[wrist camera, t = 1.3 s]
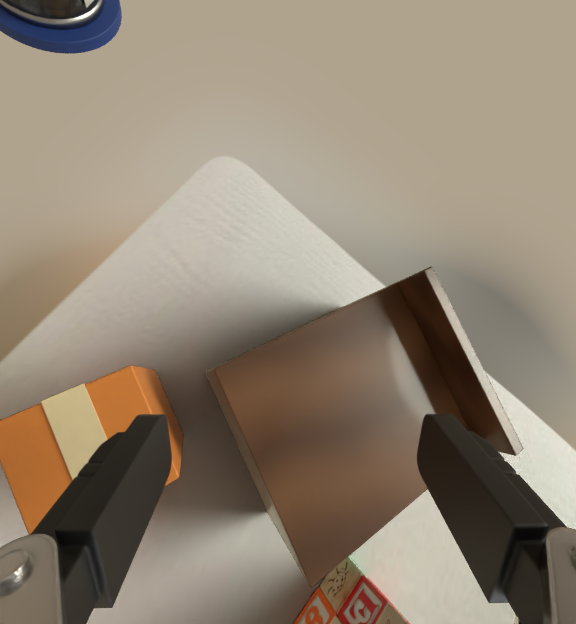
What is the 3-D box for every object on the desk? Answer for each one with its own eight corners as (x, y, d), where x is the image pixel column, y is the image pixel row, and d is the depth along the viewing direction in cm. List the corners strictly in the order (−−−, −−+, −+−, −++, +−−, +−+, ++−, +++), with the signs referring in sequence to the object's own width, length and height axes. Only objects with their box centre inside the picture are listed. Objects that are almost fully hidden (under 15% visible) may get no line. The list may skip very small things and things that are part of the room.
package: (74, 403, 21) (-18, 425, 12) (154, 368, 23) (130, 363, 14) (105, 479, 21) (36, 563, 11) (184, 437, 23) (180, 479, 13)
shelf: (204, 371, 24) (217, 367, 13) (343, 306, 29) (432, 265, 18) (267, 513, 23) (333, 627, 13) (398, 421, 28) (524, 448, 18)
